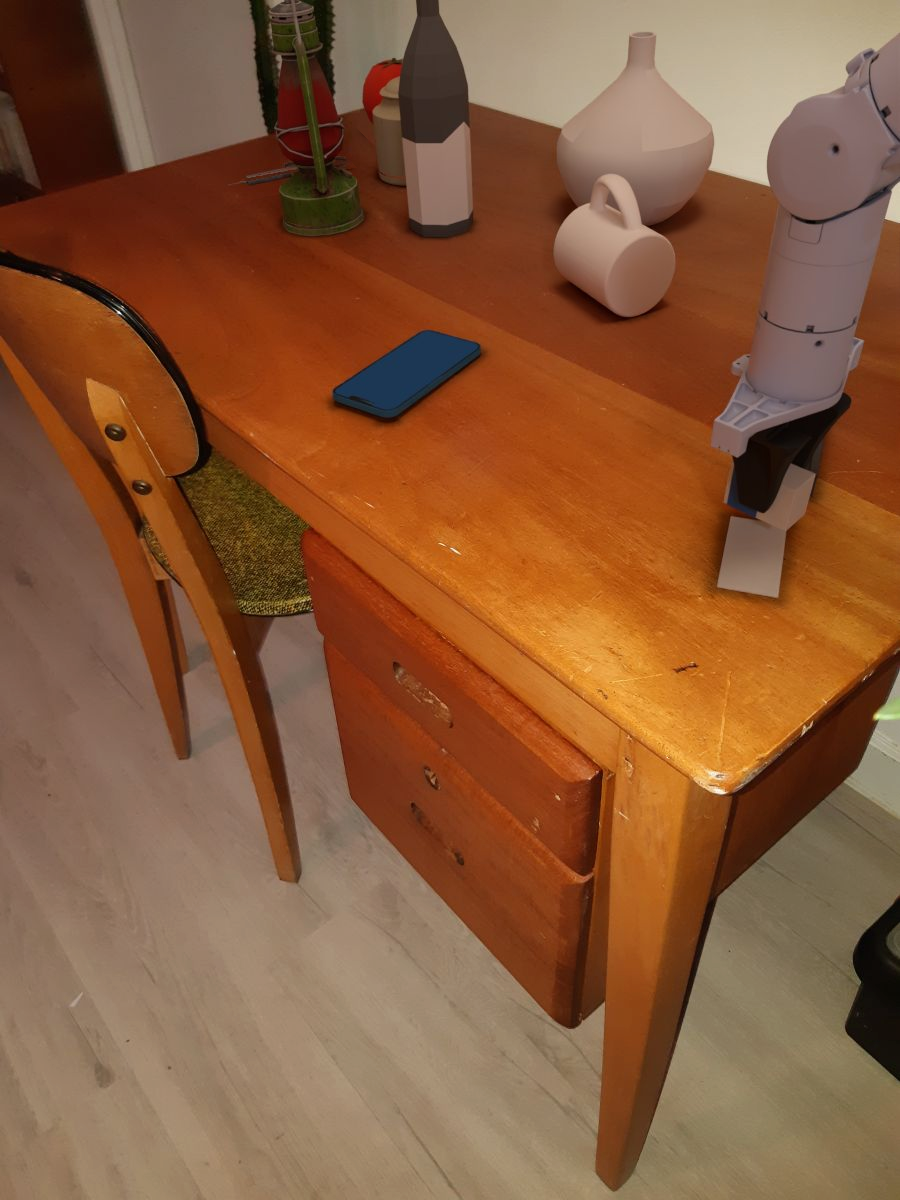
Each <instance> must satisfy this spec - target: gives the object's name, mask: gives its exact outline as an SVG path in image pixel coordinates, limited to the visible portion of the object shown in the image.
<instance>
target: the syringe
mask: <svg viewBox="0 0 900 1200" xmlns="http://www.w3.org/2000/svg"><path fill="white" fill-rule="evenodd" d="M344 158H345V157H344ZM344 158H335V161H334V162H345V161H346V159H344ZM289 162H290V161H289ZM286 163H287V162H286ZM284 164H285V163H284ZM348 164H349V160H348V161H347V162H346V163H344V164H340V165H333V167H335V168H337V169H339V168H343V167H346V166H347V165H348ZM284 167H286V168H283V167H282V168H278V169H273V170H268V171H263V172H258V173H253V174H249V175H246V176H245V178H246V177H247V178H251V177H256V176H263V175H267V174H273V173H278V172H284V171H288V170H296V169H298V168H297V167H296V166H295V165H294V163H293V162H290V163H287V164H285V165H284ZM269 172H270V173H269ZM297 172H298V171H297ZM295 173H296V172H294V173H293V175H294V174H295ZM259 174H260V175H259ZM291 174H292V172H290V173H285V174H280V175H275V176H271V177H266V178H261V179H256V180H251V181H242V180H239V182H238V184H243V185H244V184H247V186H248V187H250V186H255V185H260V184H265V183H270V182H274V181H280V180H284V179H289V178H290V177H292V175H291ZM236 184H237V182H234V183H233V185H236ZM231 185H232V183H230V184H228V186H231Z"/></svg>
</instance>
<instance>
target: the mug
mask: <svg viewBox="0 0 900 1200" xmlns="http://www.w3.org/2000/svg"><path fill="white" fill-rule="evenodd" d="M609 191H610V192H611V194H612V195H613V197H614V199H615V201H616V203H617V205H618V207H619V209H620V212H619V211H617V210H616V209H614V208H612V207H610V206H608V205H606V200H607V196H608V193H609ZM556 233H557V234H556V236H555V239H554V242H553V253H552V254H553V261H554V264H555V267H556V269H557V272H558V273H559V275H560V276H562V277H563V278H564V279H565V280H566V281H568V282H570V283H571V284H572V285H574V286H575V287H577V288H579V289H580V290H581V291H583V293H585V294H587V295H588V296H590V297H591V298H592V299H594V300H595V301H597V302H598V303H599V304H601V305H603V306H604V307H606V309H608V310H609V311H611V312H612V313H614V314H615V315H617V316H619V317H623V318H633V317H638V316H640V315H644V314H645V313H647V312H648V311H650V310H651V309H653V308H654V307H656V305H657V304H658V303H659V302H660V301H661V300H662V299H663V297H664V296H665V294H666V293H667V292H668V289H669V288H670V286H671V284H672V282H673V278H674V275H675V271H676V254H675V250H674V247H673V245H672V243H671V241H670V240H669V239H668V238H666V236H664V235H662V234H660V233H658V232H657V231H655V230H654V229H651V228H650V227H649V226H644V225H643V224H642V223H641V217H640V212H639V208H638V204H637V201H636V198H635V195H634V192H633V190H632V188H631V186H630V185H629V183H628V182H627V181H626V180H625V179H624V178H623V177H621V176H619V175H616V174H606V175H603V176H601V177H600V178H599V179H598V180H597V181H596V183H595V184H594V187H593V190H592V194H591V201H590V203H588V204H585V205H582V206H580V207H579V208H578V207H577V208H575V209H574V210H573V211H572V212H570V214H569V215H568V216H567V217H566V218H565V219H564V220H563V222H562V223H561V225H560V226H559V229H558V231H557V232H556Z"/></svg>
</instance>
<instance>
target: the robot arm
mask: <svg viewBox="0 0 900 1200" xmlns="http://www.w3.org/2000/svg"><path fill="white" fill-rule="evenodd" d="M845 71H846V72H847V75H848V76H847V78H846V80H845V82H844V85H842V86H841V87H838V88H836V89H834V90H831V91H829V92H827V93H820V94H816V95H813V96H810V97H807V98H805V99H803V100H800V101H799V102H797V103H796V104H795V105H794V106H793V109H792V110H791V112H790V114H789V115H788V116H787V117H785V119H783V121H782V122H781V123H780V125H779V126H778V127H777V129H776V131H775V132H774V134H773V136H772V138H771V141H770V144H769V146H768V151H767V156H766V175H767V180H768V184H769V187H770V190H771V192H772V193H773V195H774V198H775V199H776V201H777V202H778V203H777V208H776V213H775V218H774V224H773V230H772V234H771V238H770V244H769V249H768V255H767V260H766V265H765V270H764V277H763V281H762V287H761V292H760V298H759V303H758V309H757V315H756V321H755V326H754V332H753V336H752V340H751V341H752V342H751V347H750V353H745V354H743V355H741V356H739V357H738V358H736V360H734V361H733V362H732V363H731V367H730V373H731V375H733V376H735V377H738V378H739V381H738V383H737V384H736V386H735V389H734V390H733V393H732V395H731V397H730V399H729V400H728V403H727V404H726V407H725V409H724V410H723V411H721V413H720V414H719V415H718V416H717V417H715V418H714V419H713V425H712V431H711V437H710V443H709V446H710V447H711V448H714V449H716V450H718V451H721V452H722V453H725V454H727V455H730V456H731V458H732V461H733V462H734V467H735V473H736V482H737V491H738V499H739V503H741V504H743V505H745V506H747V507H749V508H752V509H754V510H756V511H758V512H760V513H765V512H766V511H767V510H769V508H770V507H771V506H772V504H773V502H774V500H775V499H776V496H777V494H778V492H779V489H780V486H781V484H782V481H783V479H784V476H785V474H786V472H787V470H788V468H789V466H790V464H793V465H796V466H798V467H801V468H803V469H806V467H807V465H808V463H809V461H810V460H811V458H812V456H813V454H814V452H815V451H816V449H817V447H818V446H819V444H820V442H821V441H822V439H823V438H824V439H825V437H826V436H827V434H828V433H829V431H830V430H831V429H832V427H833V426H834V425H835V424H836V422H838V421H839V419H841V417H842V416H843V415H844V414H845V413H846V412H847V411H848V410H849V409H850V407H851V404H852V401H853V400H852V398H851V396H850V395H849V394H848V393H846V392H844V389H845V386H846V383H847V380H848V376H849V373H850V372H851V371H853V370H855V368H857V367H858V365H859V362H860V358H861V354H862V351H863V347H864V343H865V340H864V339H861V338H859V337H855V334H856V330H857V326H858V323H859V318H860V315H861V312H862V308H863V304H864V301H865V297H866V293H867V290H868V287H869V283H870V278H871V275H872V271H873V267H874V264H875V261H876V256H877V252H878V249H879V245H880V241H881V235H882V232H883V227H884V224H885V220H886V216H887V212H888V209H889V206H890V201H891V198H892V194H893V191H892V190H893V189H894V188H895V187H896V186H897V185H898V184H899V183H900V32H898V33H897V34H896V35H895V36H893V37H892V38H891V39H890V40H889V41H887V42H886V43H885V44H884V45H883V46H881V47H880V48H879V49H878V50H875V48H872V47H869V48H867V49H864V50H862V51H860V52H859V53H858V54H856V55H855V56H854V57H853V58H852V59H851V60H849V61H848V62H847V63H846V64H845Z"/></svg>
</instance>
